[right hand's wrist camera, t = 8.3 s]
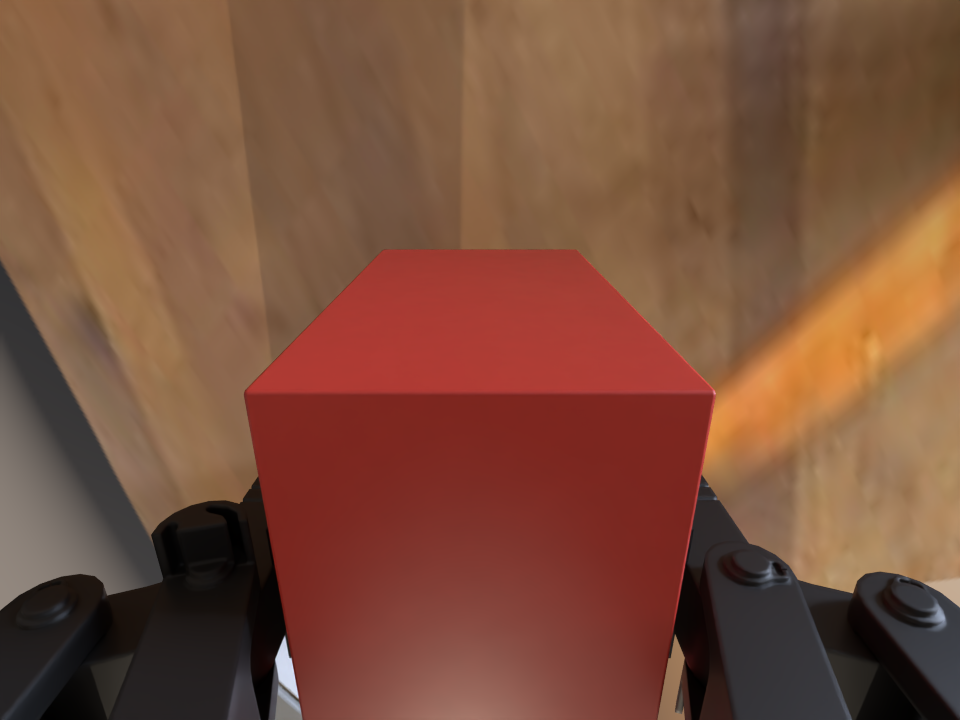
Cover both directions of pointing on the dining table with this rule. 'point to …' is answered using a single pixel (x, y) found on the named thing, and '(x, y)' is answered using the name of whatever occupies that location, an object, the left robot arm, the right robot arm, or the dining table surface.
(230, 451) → the dining table surface
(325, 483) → the block
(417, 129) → the dining table surface
